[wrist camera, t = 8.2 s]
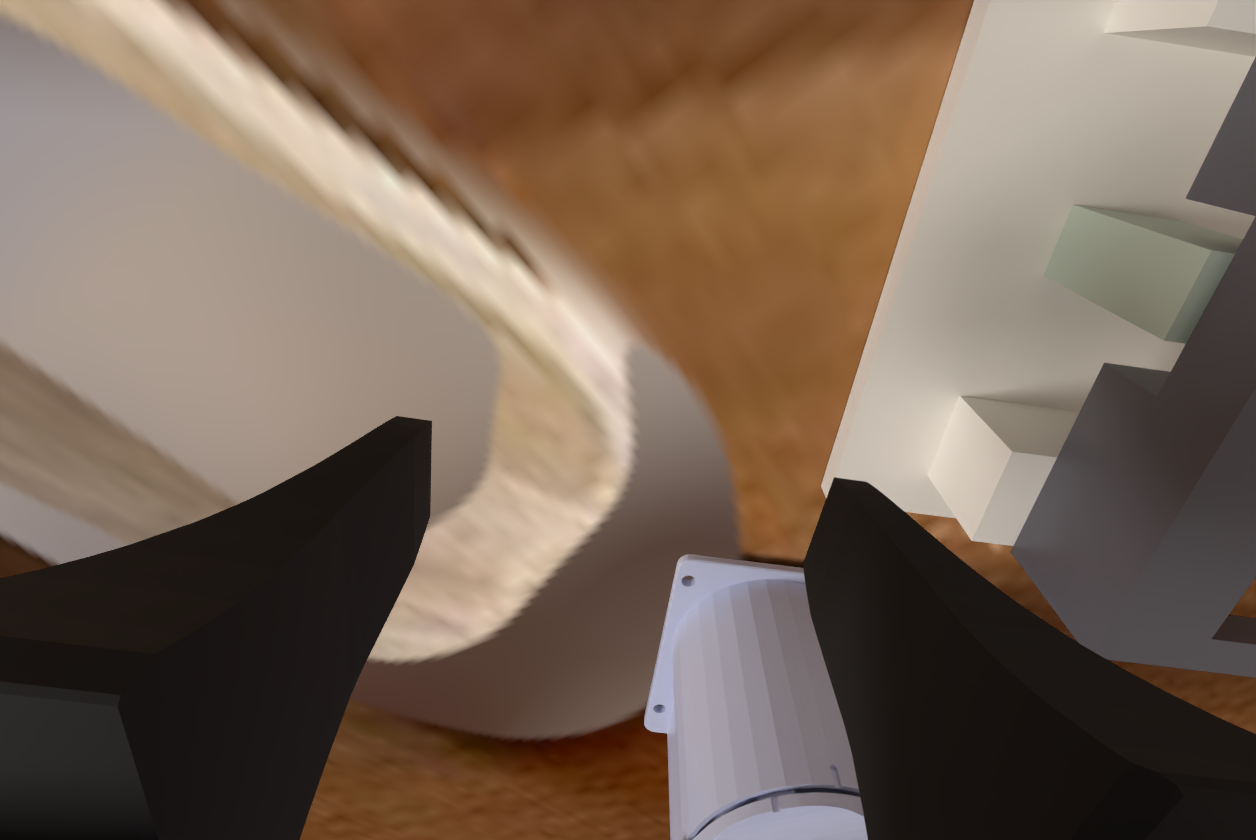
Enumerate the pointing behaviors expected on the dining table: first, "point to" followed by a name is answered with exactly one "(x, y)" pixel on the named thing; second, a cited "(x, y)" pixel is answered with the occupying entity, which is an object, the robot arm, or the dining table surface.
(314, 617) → the robot arm
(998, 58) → the stand
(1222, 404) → the grey c-shaped bracket
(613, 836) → the dining table surface
